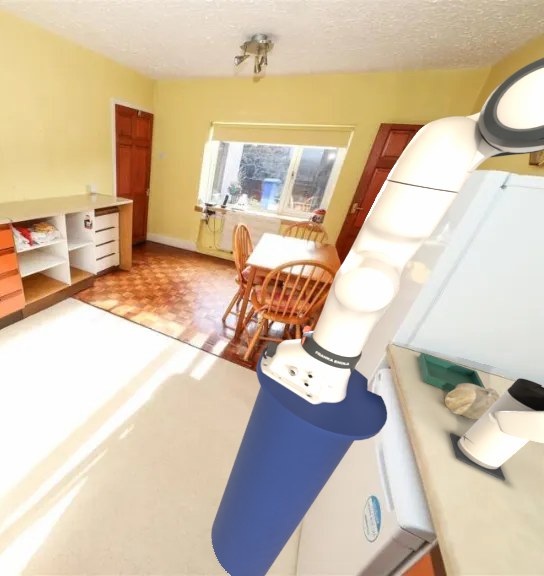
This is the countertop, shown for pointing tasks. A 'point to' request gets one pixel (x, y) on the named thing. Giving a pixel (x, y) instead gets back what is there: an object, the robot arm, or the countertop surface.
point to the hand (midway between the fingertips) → (508, 417)
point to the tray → (446, 373)
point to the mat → (462, 457)
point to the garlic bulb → (470, 400)
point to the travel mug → (487, 436)
